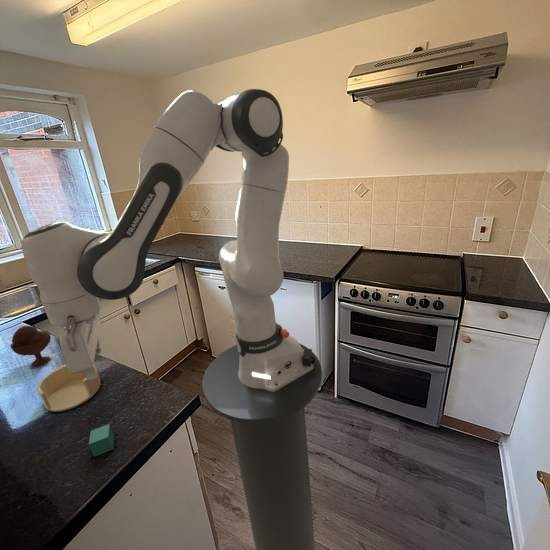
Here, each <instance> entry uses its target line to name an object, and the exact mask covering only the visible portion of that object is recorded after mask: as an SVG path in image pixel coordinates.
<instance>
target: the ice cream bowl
mask: <svg viewBox="0 0 550 550" xmlns="http://www.w3.org/2000/svg"><path fill="white" fill-rule="evenodd" d="M51 340H52V337H51V333H50V332H49V331H48V330H39V329H38V328H37V327H35V326H33V325H23V326H21V327H19V328H18V329H17V330H16V331H15V332H14V334H12V339H11V344H10V348H11V350H12V351H13V352H14V354H16V355H19V356H34V357H35V359H34V361H32V363H31V367H32V368H39V367H42V366H44V365H46V364H48V363H49V362H50V361H51V358H50V356H43V355H42V353H41V352H44V350H45V349H46V347H48V346H49V344H50V343H51Z"/></svg>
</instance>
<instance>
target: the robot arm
mask: <svg viewBox="0 0 550 550" xmlns="http://www.w3.org/2000/svg"><path fill="white" fill-rule="evenodd" d="M283 118H284V117H283V112H282V108H281V105H280V103H279V101H278V99H277V98H276V97H275V96H274V95H273V94H272V93H271V92H269V91H267V90H264V89H261V88H249V89H245V90H243V91H241V92H237V93H235V94H232V95H230V96H228V97H227V98H225V99H224V100H222V101H220V102H217V103H216V102H214V101H213V100H212V99H210V98H209V96H207V95H205V94H204V93H201V92H199V91H196V90H185V91H183V92H181V94H179V96H177V97H176V98H175V99H174V101H173V102H171V104H170V105H169V106H167V109H165V111H164V112H163V113H162V115H161V116H160V117H159V119H158V120H157V122H156V123H155V125H153V128H152V129H151V131H150V132H149V135H148V136H147V137H146V138H147V139H146V141H145V143H144V145H143V147H142V150H141V153H140V156H139V159H138V181H137V186H136V189H135V190H134V193H133V196H132V197H131V199H130V201H129V202H128V204H127V206H126V208H125V209H124V211H123V213H122V215H121V217H119V220H118V222H117V223H116V224H115V226H114V228H113V230H112V231H100V230H99V231H98V230H91V229H86V228H82V227H79V226H75V225H73V224H71V223H69V222H66V221H58V222H53V223H49V224H45V225H42V226H39V227H37V228H35V229H32V230H30V231H29V232H27V234H25V235H24V237H23V239H21V250H22V255H23V258H24V262H25V266H26V268H27V270H28V273H29V276H30V278H31V281H32V282H33V283H34V284H35V285H36V286H37V288H38V290H39V299H40V302H41V305H42V307H43V309H44V312H45V315H46V317H47V319H48V321H49V324H50V325H53V326H58V327H60V329H61V332H60V335H59V346H60V349H61V353H62V355H63V359H64V361H65V365H67V367H68V370H69V371H70V372H71V373H72V374H76V373H80V372H83V373H84V374H85V376H86V378H87V380H93V379H96V378H97V375H98V374H99V371H98V369H97V367H94V365H95V358H96V356H97V355H100V354H101V352H102V346H101V344H100V337H99V335H100V329H101V324H102V322H101V321H102V320H101V314H100V311H101V309H102V305H101V302H100V299H102V300H108V301H116V300H120V299H124V298H126V297H129V296H131V295H132V294H134V293H135V292H136V291H137V290H138V289H139V288H140V287H141V286H142V284H143V281H144V278H145V274H146V260H147V256H148V252H149V250H150V248H151V247H152V245H153V242H154V241H155V239H156V237H157V235H158V233H159V231H160V230H161V228H162V226H163V224H164V222H165V221H166V220H167V217H168V215H169V214H170V212H171V210H172V209H173V207H174V205H175V203H176V202H177V201H178V199H179V198H180V197H181V196H182V194H183V193H184V192H185V190H186V189H187V188H188V186H189V185H190V184H191V183H192V182H193V181H194V179H195V177H197V175H198V173H199V172H200V170H201V169H202V167H203V165H204V164H205V162H206V161H207V159H208V157H209V156H210V153H211V152H212V151H213V150H214V149H215V147H216V148H218V149H220V150H222V151H225V152H229V153H230V152H232V153H233V152H234V153H235V152H238V153H240V155H241V158H242V162H243V168H242V169H243V172H242V175H241V181H240V185H239V191H238V198H237V201H236V207H235V212H234V213H235V214H234V220H235V225H236V239H234V240H229V241H227V242H225V243H224V244H223V245H222V247H221V248H220V250H219V253H218V261H219V262H218V263H219V265H220V269H221V271H222V276H223V279H224V284H225V287H226V290H227V295H228V297H229V300H230V304H231V307H232V311H233V315H234V317H233V318H234V323H235V330H236V331H235V342H236V345H237V348H238V352H239V354H240V363H239V371H238V377H239V380H240V381H241V382H242V383H243V384H244V385H246V386H248V387H251V388H258V389H265V390H267V391H270V392H275V391H277V390H279V389H280V388H282V387H284V386H285V385H287V384H289V383H290V382H292V381H294V380H295V379H297V378H299V377H301V376H302V375H304V374H306V373H307V372H309V371H311V370H312V369H313V363H315V358H314V357H313V356H312V352H313V349H312V348H308V349H303V348H302V347H301V345H300V344H301V343H300V344H299V342H298V340H297V339H296V338H294V337H293V336H292V335H290V332H289V331H288V330H287V329H285V328H283V327H282V325H281V324H278V322H276V313H275V304H274V301H273V299H272V297H271V296H273V295H275V294H276V292H278V291H279V289H280V288H281V287H282V284H283V282H284V278H285V277H284V276H285V274H284V269H283V267H282V264H281V259H280V258H281V257H280V222H281V218H282V212H283V207H284V202H285V197H286V192H287V187H288V180H289V173H290V172H289V169H290V155H289V151H288V149H287V147H285V146H284V145H283V144H282V141H283V140H284V133H283V128H284V120H283ZM276 385H277V386H276Z"/></svg>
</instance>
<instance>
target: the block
mask: <svg viewBox="0 0 550 550" xmlns="http://www.w3.org/2000/svg"><path fill="white" fill-rule="evenodd" d="M88 446H89V449H90V451H91V453H92V455H93V458H95V457H98V456H100V455H102V454H105V453H107V452H110V451H113V450H114V446H115V434H114V432H113V430H112V427H111V424H106V425H103V426H101V427H97V428H94V429H91V430H90V433H89V438H88Z"/></svg>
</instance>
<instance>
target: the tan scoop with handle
mask: <svg viewBox="0 0 550 550" xmlns="http://www.w3.org/2000/svg"><path fill="white" fill-rule="evenodd" d="M94 367H96V365H95V364H94ZM96 368H97V367H96ZM100 387H101V377H100V374H99V373H98V375H97V378H96V379H93V380H87V378H86V376H85V374H84V373H83V372H80V373H76V374H72V373H71V372H70V371H69V370H68V367H67V365H66V364H64V365H62V366H60V367H59V368H58V367H57V369H55V370H54V369H53V370H52V371H51V372H49V373H48V374H47V375H45V376H44V378H42V379H41V380H40V381H39V383H38V385H37V387H36V392H37V394H38V396H39V398H40V400H41V402H42V404H43V406H44V407H45V408H46V410H48V411H50V412H55V413H57V412H58V413H59V412H65V411H69V410H71V409H74V408H77V407H78V406H80V405H82V404H84V403H85V402H87V401H88V400H90V399H91V398H92V397H94V395H95V394H96V393H97V392H98V391H99V389H100Z"/></svg>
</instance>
